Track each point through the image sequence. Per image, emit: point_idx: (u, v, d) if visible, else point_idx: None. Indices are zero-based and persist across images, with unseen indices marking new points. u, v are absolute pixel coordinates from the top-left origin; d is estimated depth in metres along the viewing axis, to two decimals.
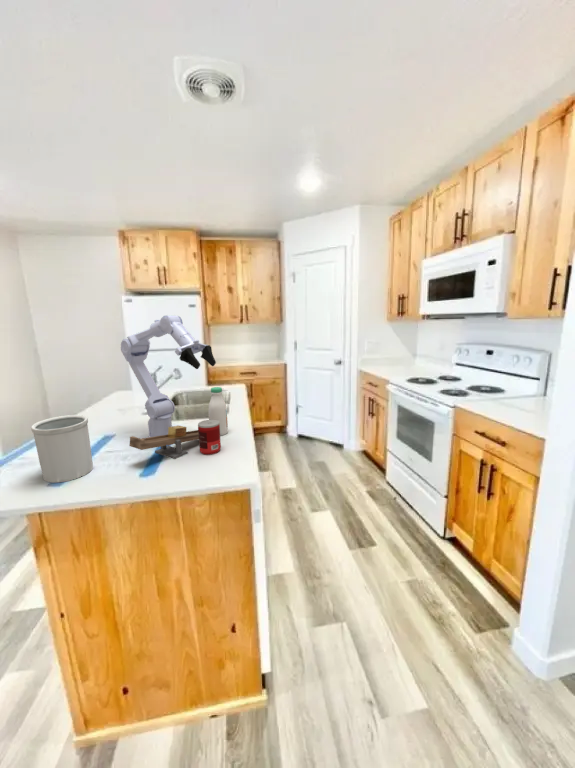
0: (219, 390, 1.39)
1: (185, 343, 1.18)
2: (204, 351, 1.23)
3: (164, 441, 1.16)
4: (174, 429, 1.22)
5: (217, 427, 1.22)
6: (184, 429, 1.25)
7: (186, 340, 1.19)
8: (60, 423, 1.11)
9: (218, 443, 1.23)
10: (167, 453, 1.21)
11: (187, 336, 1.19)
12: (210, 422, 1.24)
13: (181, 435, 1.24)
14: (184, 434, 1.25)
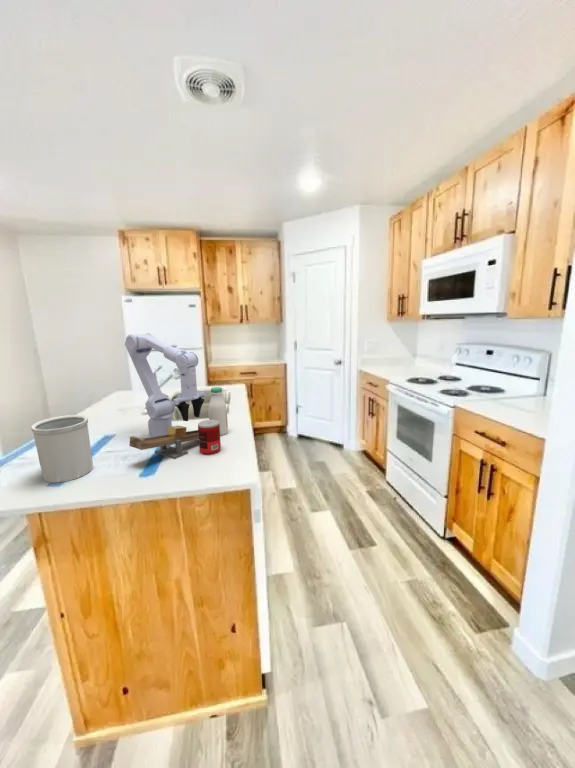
0: (219, 390, 1.39)
1: (186, 394, 1.25)
2: (196, 401, 1.31)
3: (164, 441, 1.16)
4: (174, 429, 1.22)
5: (217, 427, 1.22)
6: (184, 429, 1.25)
7: (188, 392, 1.25)
8: (60, 423, 1.11)
9: (218, 443, 1.23)
10: (167, 453, 1.21)
11: (191, 388, 1.25)
12: (210, 422, 1.24)
13: (181, 435, 1.24)
14: (184, 434, 1.25)
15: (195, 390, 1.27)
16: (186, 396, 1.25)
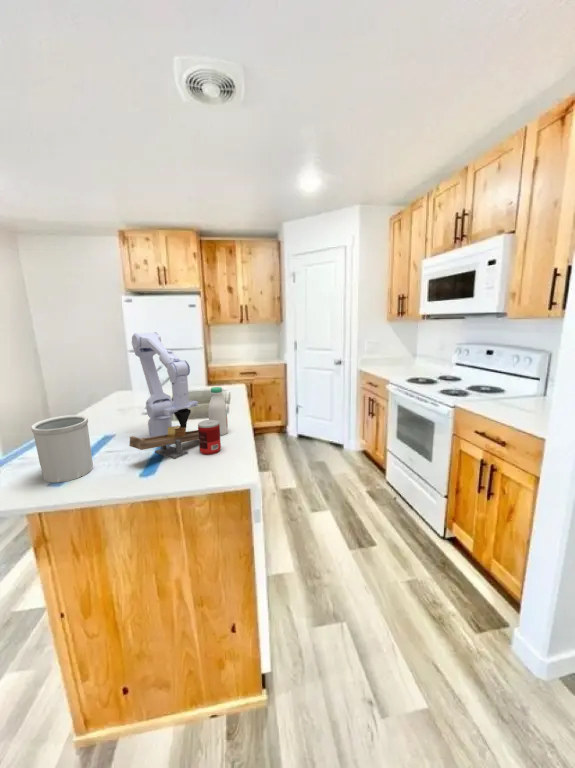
0: (219, 390, 1.39)
1: (177, 403, 1.22)
2: None
3: (164, 441, 1.16)
4: (173, 429, 1.22)
5: (217, 427, 1.22)
6: (183, 429, 1.25)
7: (180, 402, 1.22)
8: (60, 423, 1.11)
9: (218, 443, 1.23)
10: (167, 453, 1.21)
11: (183, 397, 1.22)
12: (210, 422, 1.24)
13: (180, 435, 1.24)
14: (184, 434, 1.25)
15: (187, 399, 1.24)
16: (178, 405, 1.22)
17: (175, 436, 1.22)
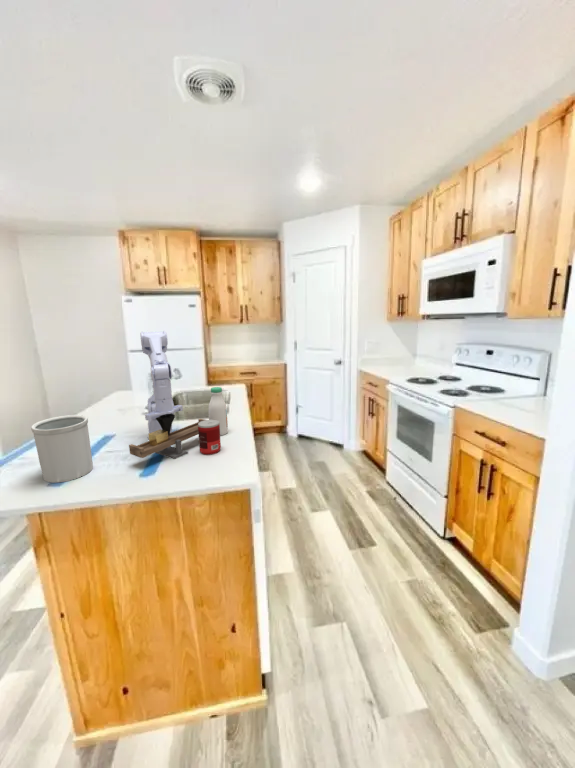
0: (219, 390, 1.39)
1: (160, 408, 1.16)
2: None
3: (164, 444, 1.16)
4: (154, 436, 1.15)
5: (217, 427, 1.22)
6: (165, 434, 1.18)
7: (163, 407, 1.16)
8: (60, 423, 1.11)
9: (218, 443, 1.23)
10: (167, 453, 1.21)
11: (166, 402, 1.16)
12: (210, 422, 1.24)
13: (163, 440, 1.17)
14: (167, 438, 1.19)
15: (170, 404, 1.17)
16: (160, 410, 1.16)
17: (157, 443, 1.15)
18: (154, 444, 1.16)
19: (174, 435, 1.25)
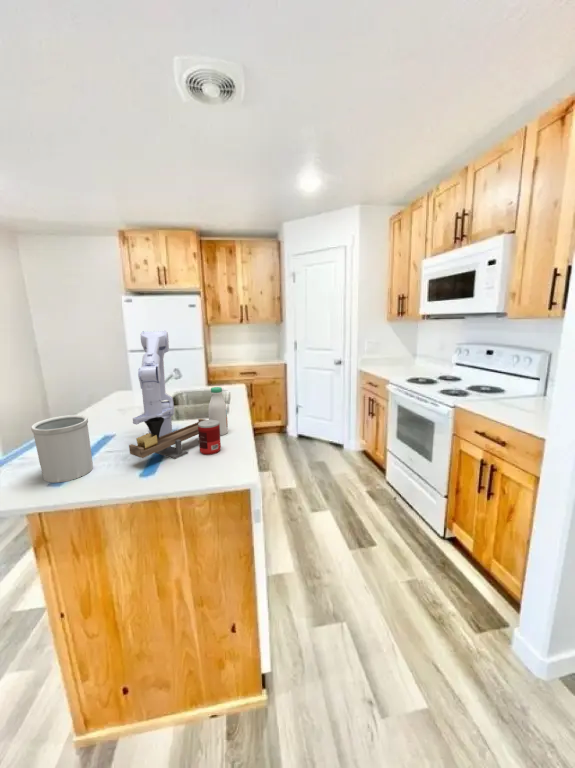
0: (219, 390, 1.39)
1: (148, 411, 1.12)
2: None
3: (164, 444, 1.16)
4: (142, 441, 1.11)
5: (217, 427, 1.22)
6: (154, 438, 1.14)
7: (151, 410, 1.12)
8: (60, 423, 1.11)
9: (218, 443, 1.23)
10: (167, 453, 1.21)
11: (155, 405, 1.12)
12: (210, 422, 1.24)
13: (152, 445, 1.14)
14: (156, 442, 1.15)
15: (159, 407, 1.14)
16: (148, 414, 1.12)
17: (146, 447, 1.12)
18: None
19: (174, 435, 1.25)
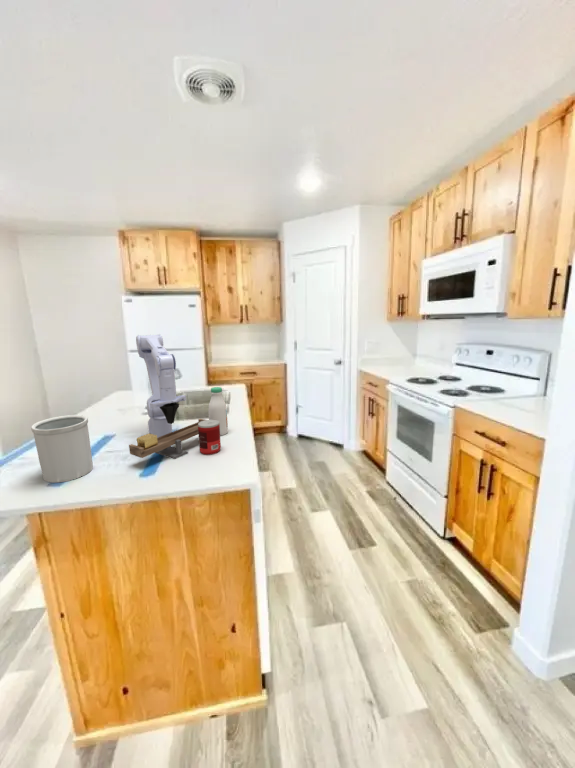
0: (219, 390, 1.39)
1: (164, 397, 1.20)
2: None
3: (164, 444, 1.16)
4: (143, 440, 1.11)
5: (217, 427, 1.22)
6: (154, 438, 1.14)
7: (167, 396, 1.20)
8: (60, 423, 1.11)
9: (218, 443, 1.23)
10: (167, 453, 1.21)
11: (170, 391, 1.20)
12: (210, 422, 1.24)
13: (152, 445, 1.14)
14: (156, 443, 1.15)
15: (174, 393, 1.22)
16: (164, 399, 1.20)
17: (146, 447, 1.12)
18: None
19: (174, 435, 1.25)
